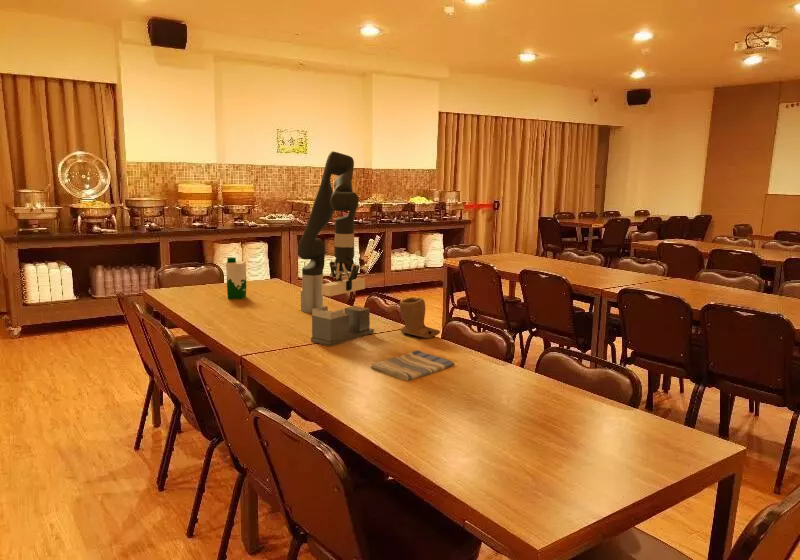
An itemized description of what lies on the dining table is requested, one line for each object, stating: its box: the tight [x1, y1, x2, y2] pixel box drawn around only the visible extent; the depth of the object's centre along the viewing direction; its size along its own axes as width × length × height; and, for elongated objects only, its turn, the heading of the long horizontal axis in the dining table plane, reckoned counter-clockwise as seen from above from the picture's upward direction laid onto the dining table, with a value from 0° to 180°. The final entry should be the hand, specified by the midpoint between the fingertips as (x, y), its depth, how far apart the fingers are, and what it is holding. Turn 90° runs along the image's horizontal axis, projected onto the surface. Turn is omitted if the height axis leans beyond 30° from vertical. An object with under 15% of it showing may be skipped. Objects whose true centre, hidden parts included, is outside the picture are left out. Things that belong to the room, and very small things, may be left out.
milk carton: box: [225, 256, 247, 300], centre depth 301 cm, size 9×9×20 cm
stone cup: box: [398, 296, 441, 339], centre depth 240 cm, size 15×12×15 cm
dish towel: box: [370, 349, 455, 382], centre depth 202 cm, size 17×24×3 cm
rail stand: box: [310, 305, 375, 347], centre depth 235 cm, size 10×25×12 cm, turn 143°
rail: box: [322, 276, 366, 297], centre depth 233 cm, size 4×20×4 cm, turn 143°
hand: (344, 289), depth 233 cm, fingers closed on rail, 4 cm apart
